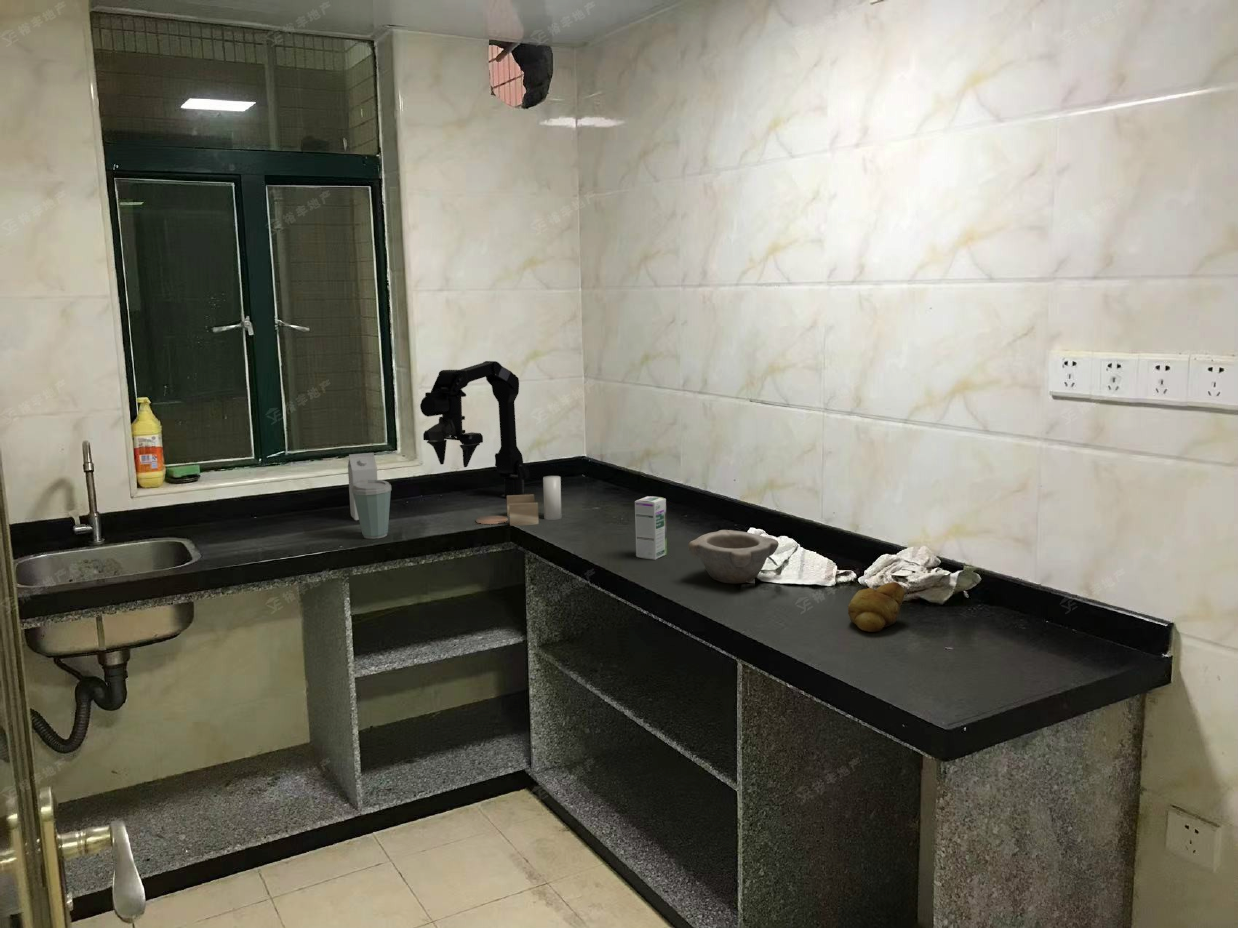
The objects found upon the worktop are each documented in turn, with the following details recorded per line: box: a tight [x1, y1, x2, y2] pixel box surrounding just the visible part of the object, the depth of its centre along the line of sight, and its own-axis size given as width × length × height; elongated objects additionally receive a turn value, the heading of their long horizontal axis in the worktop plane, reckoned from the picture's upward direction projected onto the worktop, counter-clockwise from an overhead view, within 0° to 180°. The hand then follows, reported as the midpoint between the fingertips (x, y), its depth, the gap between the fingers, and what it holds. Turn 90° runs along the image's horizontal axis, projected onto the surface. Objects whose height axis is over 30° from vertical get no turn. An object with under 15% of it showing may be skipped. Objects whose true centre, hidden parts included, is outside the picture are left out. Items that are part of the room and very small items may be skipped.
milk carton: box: [347, 452, 378, 521], centre depth 287 cm, size 7×7×19 cm
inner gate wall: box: [506, 493, 536, 517], centre depth 288 cm, size 2×8×6 cm, turn 100°
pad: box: [475, 515, 509, 526], centre depth 281 cm, size 9×9×1 cm
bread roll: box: [847, 581, 906, 633], centre depth 190 cm, size 13×10×8 cm
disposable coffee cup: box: [352, 478, 392, 540], centre depth 264 cm, size 11×11×15 cm
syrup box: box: [634, 495, 668, 561], centre depth 241 cm, size 6×6×14 cm
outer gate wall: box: [509, 502, 539, 526], centre depth 277 cm, size 2×8×6 cm, turn 100°
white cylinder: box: [542, 475, 562, 521], centre depth 283 cm, size 5×5×12 cm
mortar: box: [687, 529, 779, 584], centre depth 222 cm, size 17×17×9 cm
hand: (453, 465), depth 289 cm, fingers open, 9 cm apart
